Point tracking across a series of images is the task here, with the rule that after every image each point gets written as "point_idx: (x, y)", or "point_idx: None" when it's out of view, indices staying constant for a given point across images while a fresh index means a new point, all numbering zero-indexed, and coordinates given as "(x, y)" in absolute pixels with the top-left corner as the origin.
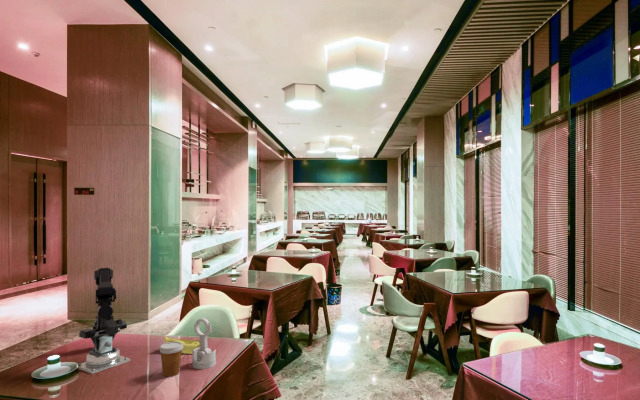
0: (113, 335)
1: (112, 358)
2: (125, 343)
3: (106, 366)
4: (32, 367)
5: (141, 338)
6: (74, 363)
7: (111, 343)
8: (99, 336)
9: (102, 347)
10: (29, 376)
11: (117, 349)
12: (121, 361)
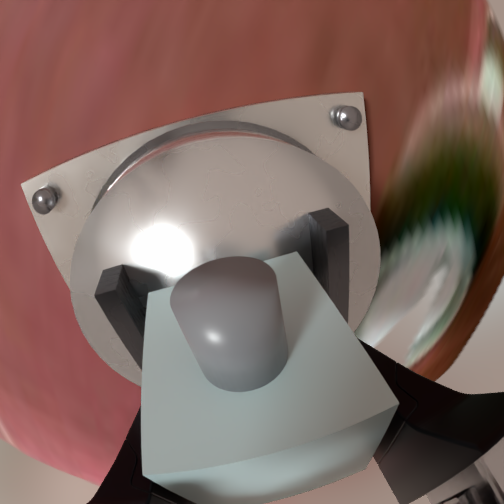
0: (125, 495)
1: (173, 142)
2: (80, 443)
3: (237, 113)
4: None
5: (29, 443)
6: None
7: (156, 364)
8: (493, 436)
9: (307, 303)
10: (467, 299)
11: (90, 324)
12: (88, 156)
